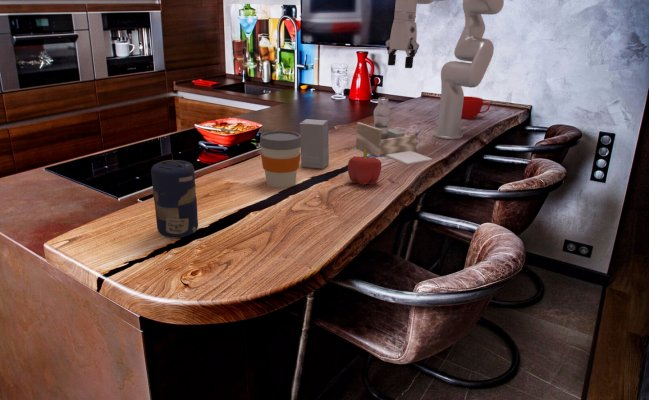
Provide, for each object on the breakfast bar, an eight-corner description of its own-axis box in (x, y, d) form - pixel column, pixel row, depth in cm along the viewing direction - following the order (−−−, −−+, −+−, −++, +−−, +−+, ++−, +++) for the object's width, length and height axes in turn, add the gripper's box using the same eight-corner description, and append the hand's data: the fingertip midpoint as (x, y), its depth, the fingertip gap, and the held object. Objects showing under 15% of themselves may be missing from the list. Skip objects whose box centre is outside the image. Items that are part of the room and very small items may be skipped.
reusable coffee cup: (285, 192, 145) (285, 143, 139) (252, 184, 151) (250, 136, 145) (309, 181, 155) (309, 134, 149) (277, 173, 161) (276, 128, 155)
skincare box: (328, 164, 172) (330, 119, 166) (322, 170, 165) (323, 124, 160) (306, 161, 174) (306, 117, 168) (298, 167, 168) (299, 121, 162)
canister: (181, 220, 124) (175, 152, 118) (207, 230, 119) (202, 159, 113) (149, 233, 117) (140, 161, 110) (175, 244, 112) (168, 169, 105)
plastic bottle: (387, 152, 188) (391, 100, 180) (370, 151, 189) (373, 99, 182) (389, 148, 194) (393, 97, 186) (372, 147, 195) (375, 96, 188)
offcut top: (392, 134, 197) (393, 128, 196) (404, 139, 191) (404, 133, 190) (384, 135, 195) (385, 129, 194) (395, 140, 189) (396, 134, 188)
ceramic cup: (484, 123, 242) (486, 102, 239) (450, 118, 251) (453, 98, 247) (491, 118, 253) (494, 99, 249) (459, 114, 261) (461, 95, 257)
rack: (393, 142, 203) (395, 118, 199) (416, 150, 192) (418, 125, 188) (355, 147, 194) (357, 122, 190) (377, 156, 183) (379, 130, 179)
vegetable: (347, 176, 160) (348, 146, 157) (378, 177, 160) (380, 147, 156) (347, 188, 150) (348, 156, 146) (381, 189, 150) (383, 157, 146)
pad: (410, 152, 189) (410, 150, 189) (432, 160, 180) (432, 158, 180) (385, 156, 183) (385, 154, 183) (407, 164, 174) (407, 163, 174)
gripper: (429, 18, 172) (423, 69, 178) (397, 17, 186) (392, 64, 192) (413, 17, 169) (407, 69, 175) (381, 16, 182) (377, 64, 188)
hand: (399, 66), depth 183 cm, fingers open, 9 cm apart
